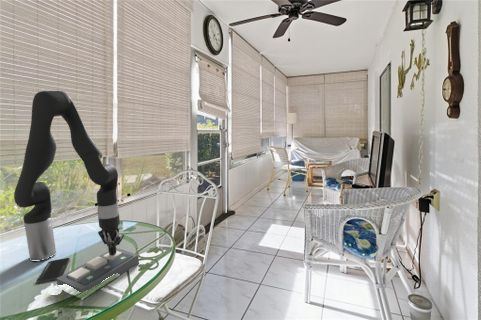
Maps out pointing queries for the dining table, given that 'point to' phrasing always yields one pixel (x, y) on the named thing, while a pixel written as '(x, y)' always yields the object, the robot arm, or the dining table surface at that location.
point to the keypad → (101, 271)
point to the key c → (112, 256)
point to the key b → (96, 263)
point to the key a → (78, 274)
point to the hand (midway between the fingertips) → (112, 254)
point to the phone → (53, 270)
